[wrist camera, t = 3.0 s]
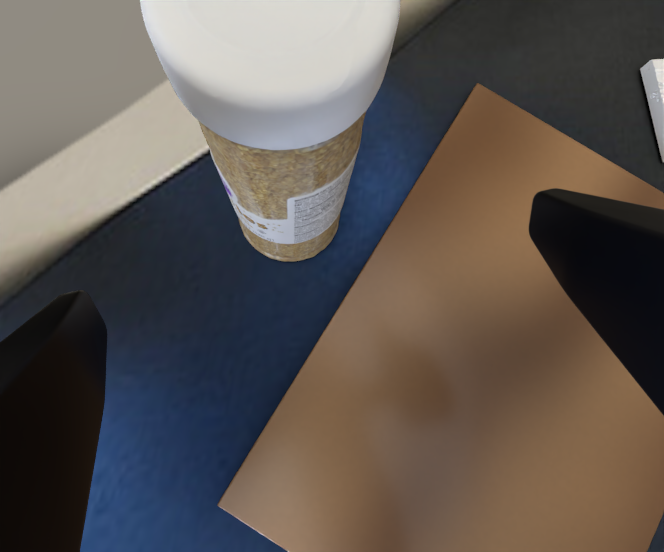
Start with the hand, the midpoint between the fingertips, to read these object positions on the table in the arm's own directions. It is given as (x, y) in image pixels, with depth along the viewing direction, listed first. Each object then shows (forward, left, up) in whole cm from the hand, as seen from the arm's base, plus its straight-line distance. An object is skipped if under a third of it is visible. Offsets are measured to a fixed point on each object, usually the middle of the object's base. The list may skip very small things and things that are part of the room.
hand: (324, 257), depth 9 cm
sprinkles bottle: (+3, -3, -11) cm, 12 cm away
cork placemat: (-9, -2, -11) cm, 15 cm away
